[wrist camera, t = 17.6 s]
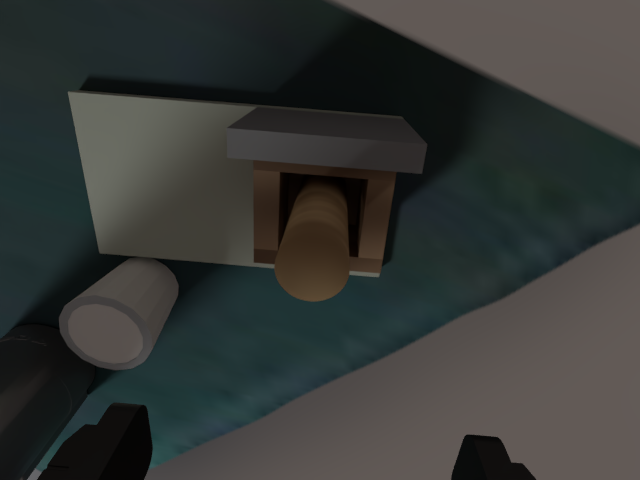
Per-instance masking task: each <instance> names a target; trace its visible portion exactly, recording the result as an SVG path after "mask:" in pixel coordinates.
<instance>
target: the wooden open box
mask: <svg viewBox="0 0 640 480" xmlns="http://www.w3.org/2000/svg"><path fill="white" fill-rule="evenodd" d="M396 173H397V172H393V171H381V170H369V169H357V168H345V167H332V166H320V165H308V164H296V163H284V162H272V161H260V160H253V209H254V263H264V264H275V259H276V256H277V253H278V250H279V247H280V244H281V241H282V238H283V236H284V233H285V230H286V227H287V224H288V221H289V218H290V215H291V212H292V209H293V206H294V203H295V201H296V198H297V195H298V192H299V189H300V186H301V183H302V180H303V178H304V176H305V175H306V174H311V175H323V176H335V177H343V178H344V180H345V182H346V189H347V214H348V238H349V263H350V271H357V272H369V273H381V267H382V261H383V254H384V248H385V242H386V236H387V229H388V223H389V217H390V211H391V204H392V198H393V192H394V186H395V179H396Z"/></svg>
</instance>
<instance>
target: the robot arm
mask: <svg viewBox="0 0 640 480" xmlns="http://www.w3.org/2000/svg"><path fill="white" fill-rule="evenodd" d="M94 377H95V367H94V365H93V364H91V363H89V362H87V361H85V360H83V359H81V358H80V357H79V356H78V355H77V354H76V353H75V352H73V351H72V350H71V349H70V348H69V347H68V346H67V344H66V342H65V340H64V339H63V337H62V335H61V333H60V330H58V329H55V328H52V327H49V326H44V325H38V324H27V325H22V326H18V327H16V328H14V329H12V330H10V331H9V332H8V333H7V334H6V335H5V336H3V337H2V338H1V339H0V480H27V479H28V477H29V476H30V475H31V473H32V472H33V471H34V469H35V468H36V467H37V465H38V464H39V462H40V461H41V460H42V458H43V457H44V456H45V454H46V453H47V451H48V450H49V449H50V447H51V446H52V445H53V443H54V442H55V440H56V439H57V438H58V436H59V435H60V434H61V432H62V431H63V430H64V428H65V427H66V425H67V424H68V423H69V421H70V420H71V419H72V417H73V416H74V414H75V413H76V412H77V410H78V409H79V408H80V406H81V405H82V404H83V402H84V401H85V399H86V398H87V397H88V395H87V389H88V388H89V386H90V385H91V384H92V382H93V380H94ZM152 450H153V446H152V438H151V431H150V425H149V418H148V411H147V407H146V406H145V405H137V404H126V403H113V404H111V405H110V406H109V407H108V409H107V410H106V412H105V413H104V415H103V416H102V418H101V419H100V421H99V422H98V424H97V425H89V424H85V425H84V426H83V427H81V428H80V429H79V430H78V431H77V432H75V433H74V434H73V435H72V436H71V437H69V438H68V439H67V440H66V441H65V442H63V444H62V445H61V447H60V448H59V449H58V451H57V452H56V454H55V455H54V456H53V458H52V459H51V461H50V462H49V463H48V466H47V469H46V470H45V469H44V471H43V472H42V473H41V475H40V476H39V478H38V479H37V480H144V478H145V476H146V474H147V471H148V469H149V465H150V462H151V457H152ZM451 480H536V479H535V477H534V476H533V475H532V474H531V473H530V472H529V470H528V469H527V468H526V467H525V466H524V465H523V464H522V463H511V461H510V458H509V456H508V454H507V451H506V449H505V447H504V445H503V443H502V441H501V440H500V439H499V438H498V437H491V436H480V435H466V436H465V437H464V439H463V442H462V445H461V448H460V451H459V455H458V457H457V460H456V463H455V466H454V469H453V472H452V478H451Z"/></svg>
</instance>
